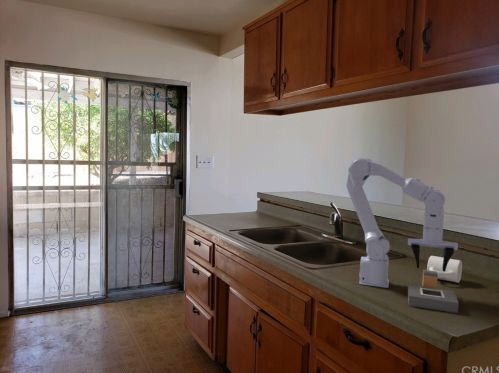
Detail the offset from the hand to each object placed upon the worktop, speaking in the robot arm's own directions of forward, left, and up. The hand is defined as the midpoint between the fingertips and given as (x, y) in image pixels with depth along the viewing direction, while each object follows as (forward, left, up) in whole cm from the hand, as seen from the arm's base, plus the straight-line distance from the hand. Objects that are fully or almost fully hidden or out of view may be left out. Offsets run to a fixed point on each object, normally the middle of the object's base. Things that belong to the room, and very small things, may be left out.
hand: (430, 269), depth 124 cm
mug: (+5, +17, -8) cm, 19 cm away
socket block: (0, -9, -8) cm, 12 cm away
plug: (0, 0, -8) cm, 8 cm away
